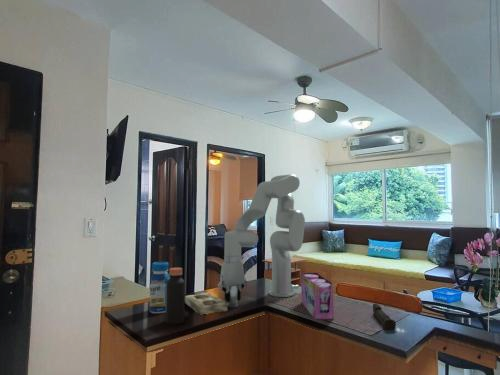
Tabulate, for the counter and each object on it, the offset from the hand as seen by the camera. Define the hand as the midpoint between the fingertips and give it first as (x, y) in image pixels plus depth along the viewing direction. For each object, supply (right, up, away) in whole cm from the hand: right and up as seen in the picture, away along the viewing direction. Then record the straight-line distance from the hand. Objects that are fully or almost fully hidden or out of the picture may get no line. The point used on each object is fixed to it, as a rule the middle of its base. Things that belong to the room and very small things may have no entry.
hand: (232, 300), depth 141 cm
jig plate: (-12, -2, -1) cm, 12 cm away
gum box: (+36, -2, -6) cm, 37 cm away
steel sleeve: (0, -2, 0) cm, 2 cm away
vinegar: (-21, -1, -20) cm, 29 cm away
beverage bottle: (-30, -2, -7) cm, 31 cm away
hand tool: (+58, -2, -19) cm, 61 cm away
